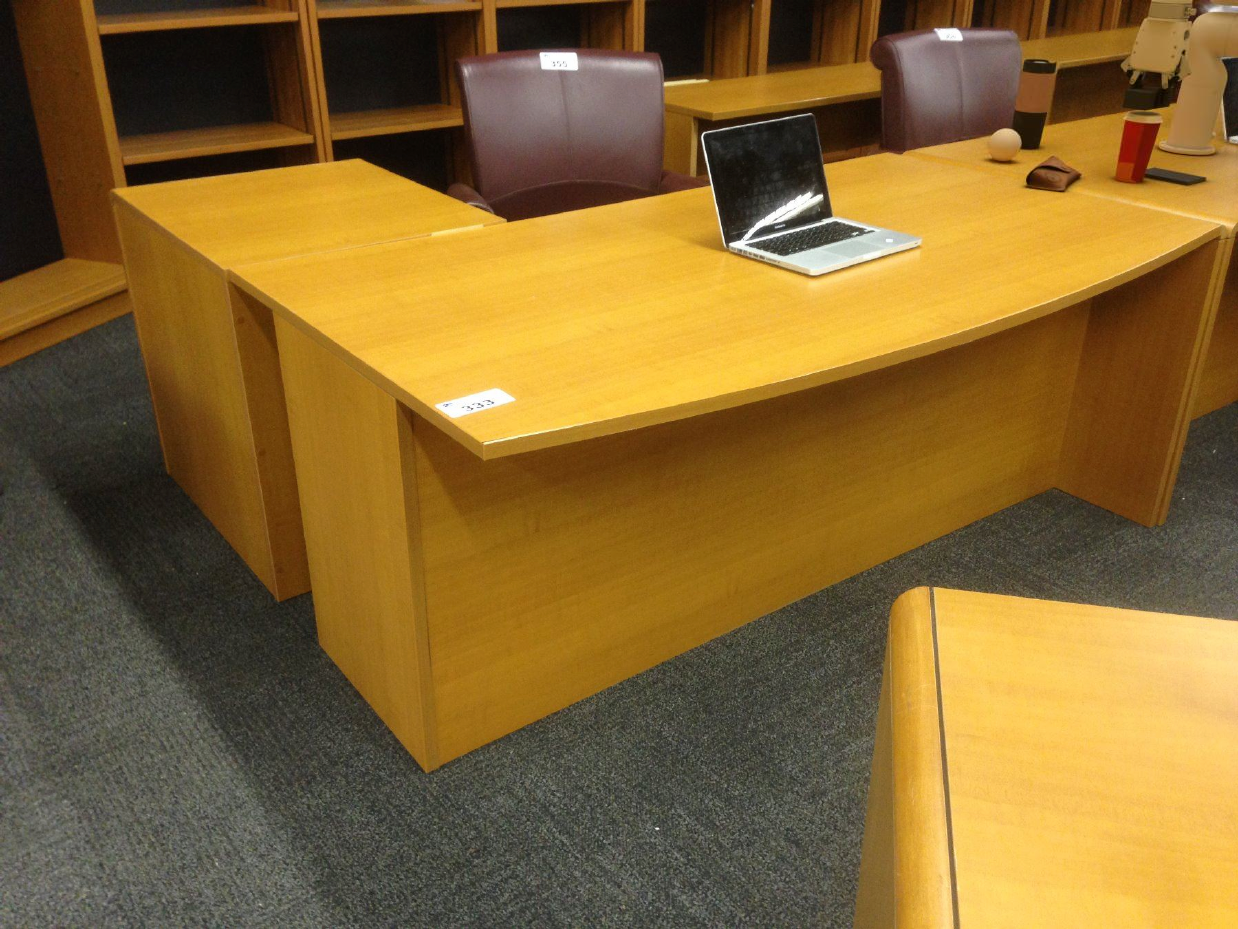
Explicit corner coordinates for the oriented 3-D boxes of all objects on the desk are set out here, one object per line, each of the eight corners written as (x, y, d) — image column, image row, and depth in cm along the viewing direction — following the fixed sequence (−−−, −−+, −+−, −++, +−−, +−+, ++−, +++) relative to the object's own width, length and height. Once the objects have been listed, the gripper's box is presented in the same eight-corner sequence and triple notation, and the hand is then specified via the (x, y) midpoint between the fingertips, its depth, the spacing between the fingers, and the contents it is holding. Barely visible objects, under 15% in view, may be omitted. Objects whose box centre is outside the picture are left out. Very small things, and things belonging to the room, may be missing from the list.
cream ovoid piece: (1017, 165, 240) (1024, 132, 237) (984, 162, 243) (989, 129, 239) (1019, 157, 249) (1025, 125, 245) (986, 154, 251) (992, 122, 248)
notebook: (1153, 170, 238) (1154, 167, 238) (1205, 180, 230) (1206, 177, 229) (1134, 174, 234) (1135, 171, 234) (1187, 185, 226) (1188, 181, 225)
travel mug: (1006, 147, 259) (1022, 61, 250) (1009, 142, 265) (1024, 57, 256) (1039, 150, 256) (1057, 63, 247) (1040, 144, 263) (1058, 60, 253)
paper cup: (1146, 177, 231) (1162, 111, 225) (1149, 185, 225) (1166, 117, 218) (1107, 174, 234) (1123, 109, 227) (1110, 181, 227) (1126, 114, 221)
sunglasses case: (1067, 189, 217) (1055, 159, 216) (1033, 203, 222) (1022, 173, 221) (1083, 174, 231) (1072, 145, 230) (1051, 187, 235) (1040, 159, 234)
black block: (1147, 103, 227) (1151, 86, 225) (1169, 106, 223) (1173, 89, 221) (1122, 107, 221) (1126, 89, 219) (1144, 110, 218) (1148, 92, 216)
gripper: (1219, 15, 210) (1194, 110, 218) (1139, 8, 222) (1118, 98, 230) (1201, 16, 206) (1176, 113, 214) (1119, 9, 217) (1099, 101, 226)
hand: (1146, 104), depth 222 cm, fingers closed on black block, 5 cm apart
